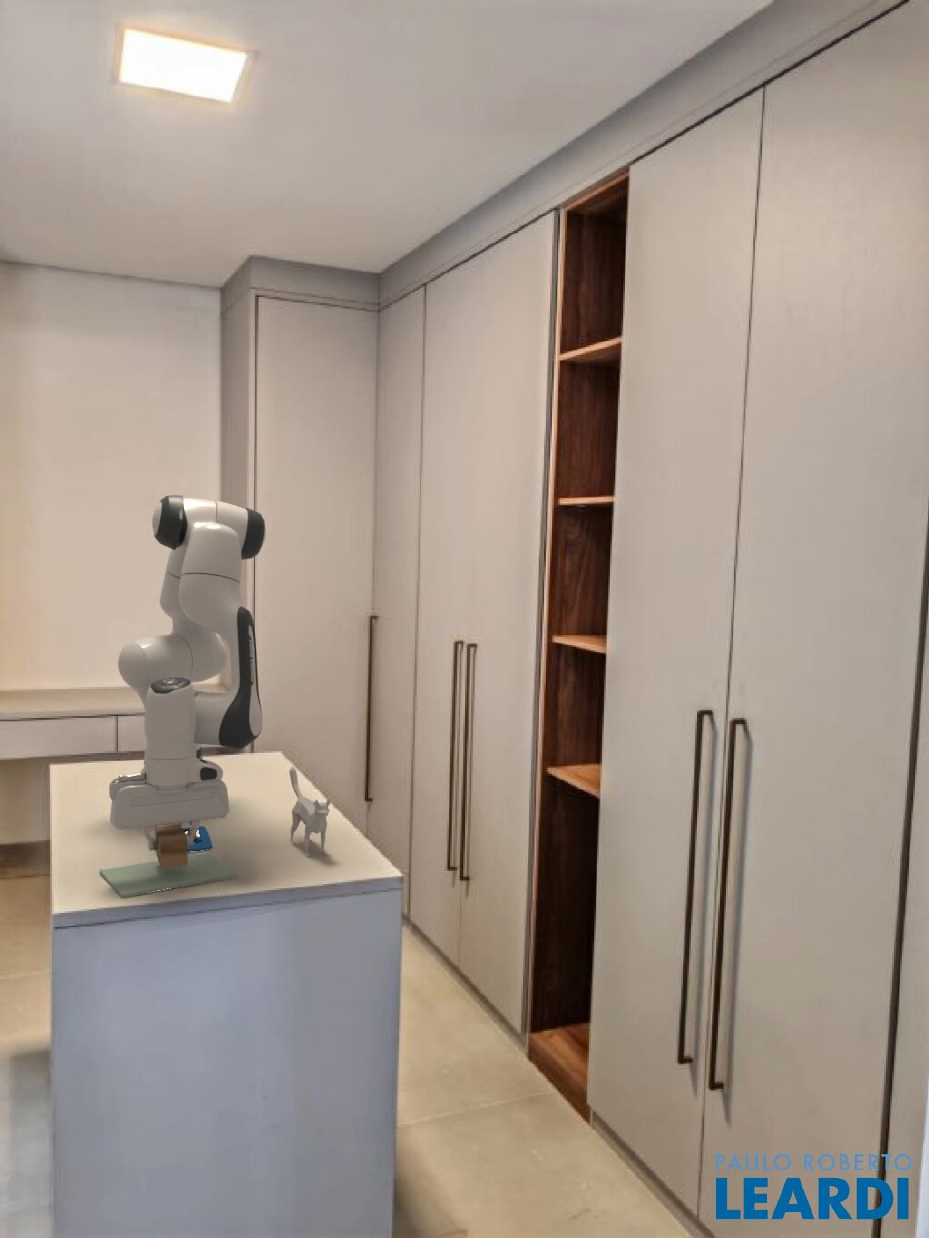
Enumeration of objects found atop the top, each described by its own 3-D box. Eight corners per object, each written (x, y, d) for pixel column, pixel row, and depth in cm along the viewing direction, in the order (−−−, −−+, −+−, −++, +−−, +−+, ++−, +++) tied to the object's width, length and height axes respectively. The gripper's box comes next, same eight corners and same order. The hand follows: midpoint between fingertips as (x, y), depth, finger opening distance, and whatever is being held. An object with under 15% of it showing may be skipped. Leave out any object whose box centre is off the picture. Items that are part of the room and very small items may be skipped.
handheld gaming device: (169, 849, 192) (163, 827, 206) (169, 855, 192) (163, 833, 206) (214, 846, 195) (205, 824, 209) (214, 851, 195) (204, 829, 209)
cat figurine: (313, 863, 189) (314, 789, 188) (280, 834, 207) (280, 766, 205) (335, 860, 191) (336, 787, 190) (300, 831, 209) (301, 764, 207)
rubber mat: (99, 873, 180) (99, 870, 180) (207, 855, 192) (207, 852, 192) (122, 897, 169) (122, 894, 169) (236, 877, 180) (236, 874, 180)
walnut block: (187, 865, 176) (187, 839, 175) (160, 867, 174) (160, 841, 174) (180, 846, 186) (180, 822, 185) (154, 849, 184) (154, 824, 184)
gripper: (112, 780, 171) (113, 860, 172) (231, 769, 181) (231, 844, 182) (106, 772, 176) (106, 849, 178) (222, 761, 186) (221, 835, 187)
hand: (170, 847), depth 180 cm, fingers closed on walnut block, 5 cm apart
